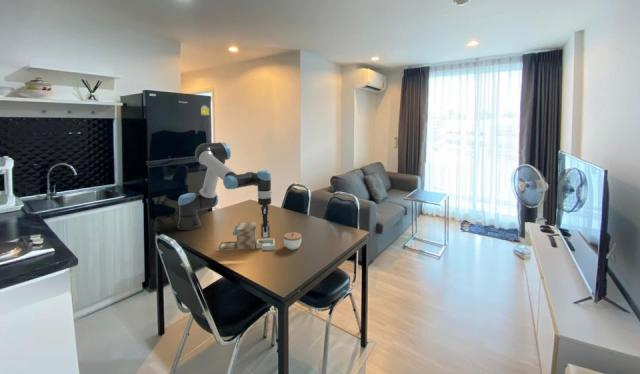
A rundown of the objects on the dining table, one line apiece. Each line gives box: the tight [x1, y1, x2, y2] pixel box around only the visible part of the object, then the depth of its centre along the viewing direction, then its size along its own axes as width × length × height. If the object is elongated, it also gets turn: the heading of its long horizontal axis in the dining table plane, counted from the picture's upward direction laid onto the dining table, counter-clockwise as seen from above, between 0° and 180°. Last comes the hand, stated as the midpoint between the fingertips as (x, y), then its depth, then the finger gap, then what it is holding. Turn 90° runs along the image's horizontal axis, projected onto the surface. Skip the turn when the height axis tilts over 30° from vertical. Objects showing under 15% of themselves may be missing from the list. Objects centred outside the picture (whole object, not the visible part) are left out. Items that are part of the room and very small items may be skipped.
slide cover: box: [232, 225, 238, 236], centre depth 178 cm, size 10×10×2 cm
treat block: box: [260, 222, 271, 239], centre depth 179 cm, size 5×5×7 cm
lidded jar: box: [283, 232, 302, 251], centre depth 180 cm, size 11×11×9 cm
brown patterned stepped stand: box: [215, 221, 257, 251], centre depth 178 cm, size 22×12×14 cm, turn 99°
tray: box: [255, 238, 276, 251], centre depth 181 cm, size 11×11×3 cm
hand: (265, 234), depth 180 cm, fingers closed on treat block, 5 cm apart
